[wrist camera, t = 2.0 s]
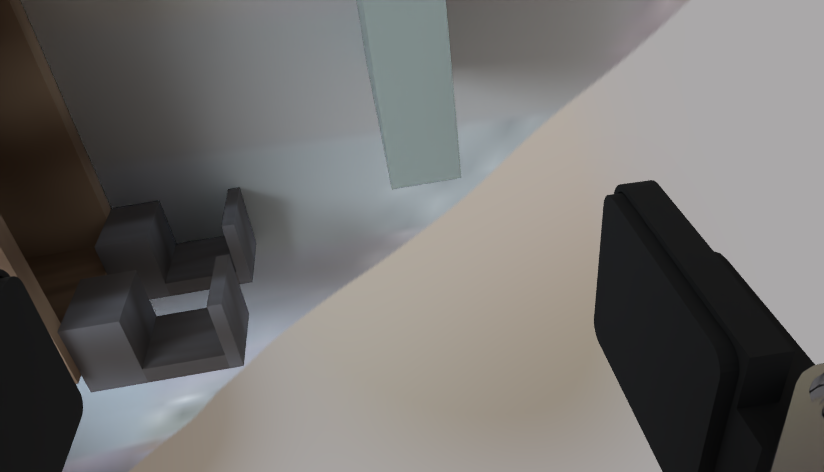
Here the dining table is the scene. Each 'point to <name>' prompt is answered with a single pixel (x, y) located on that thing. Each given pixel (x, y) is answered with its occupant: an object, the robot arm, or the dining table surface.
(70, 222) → the cabinet
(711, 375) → the robot arm
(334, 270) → the dining table surface
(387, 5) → the grey flat block
